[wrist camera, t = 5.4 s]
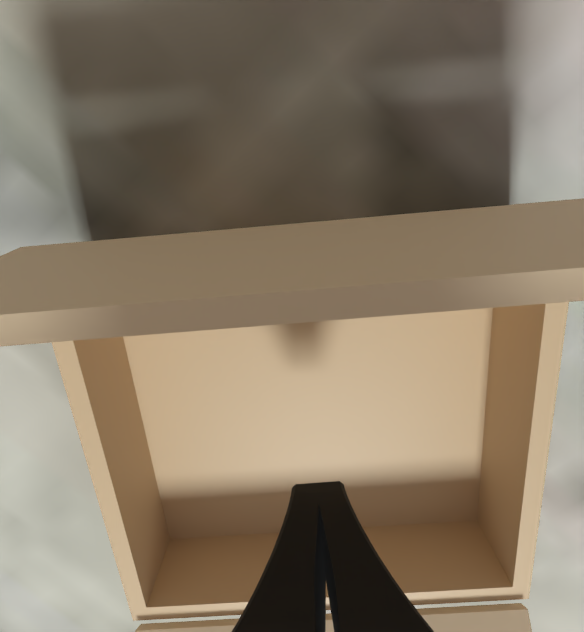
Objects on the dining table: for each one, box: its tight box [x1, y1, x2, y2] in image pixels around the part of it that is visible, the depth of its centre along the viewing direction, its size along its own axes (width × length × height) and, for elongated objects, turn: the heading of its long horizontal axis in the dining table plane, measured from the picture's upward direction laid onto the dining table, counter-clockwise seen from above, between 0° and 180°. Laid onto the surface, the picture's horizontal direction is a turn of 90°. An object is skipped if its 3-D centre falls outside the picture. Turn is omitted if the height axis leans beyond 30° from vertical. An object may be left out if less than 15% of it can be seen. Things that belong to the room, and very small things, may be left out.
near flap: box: [0, 199, 584, 346], centre depth 8 cm, size 14×4×1 cm
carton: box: [52, 302, 569, 621], centre depth 14 cm, size 14×13×4 cm
